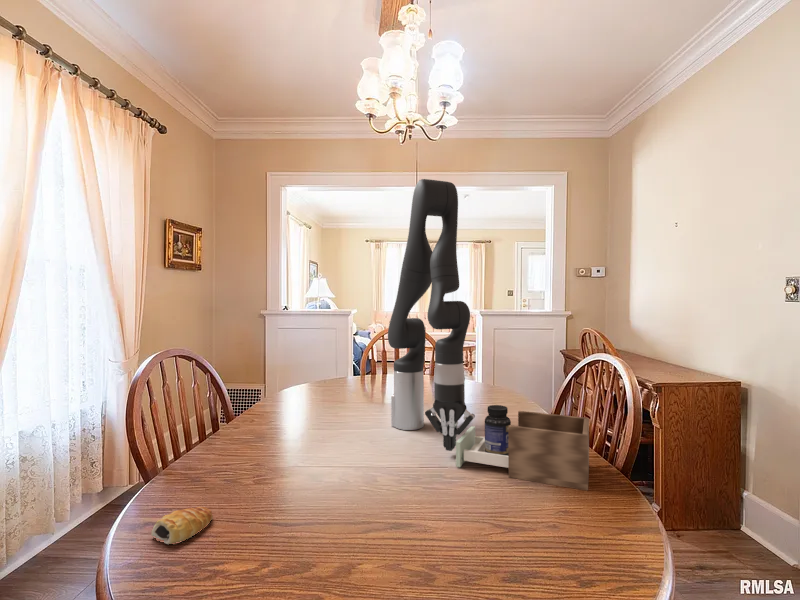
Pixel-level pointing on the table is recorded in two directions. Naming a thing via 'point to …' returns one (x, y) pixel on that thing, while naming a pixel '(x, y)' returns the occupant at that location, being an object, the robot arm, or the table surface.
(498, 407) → the pill bottle
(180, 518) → the pastry
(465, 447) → the drawer
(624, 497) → the table surface
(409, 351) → the robot arm
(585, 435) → the caddy
